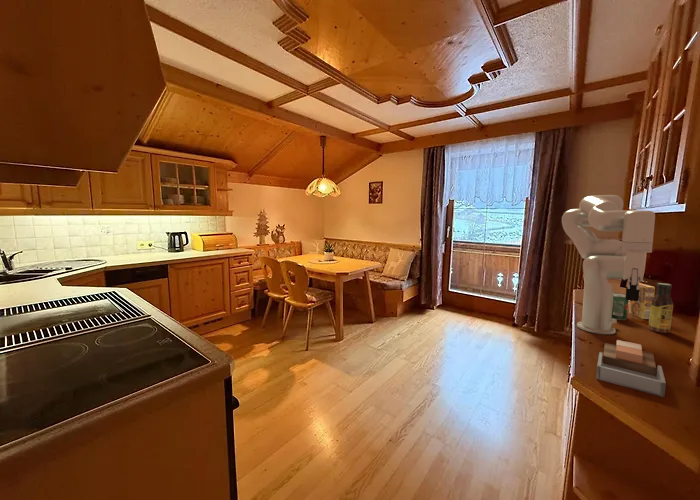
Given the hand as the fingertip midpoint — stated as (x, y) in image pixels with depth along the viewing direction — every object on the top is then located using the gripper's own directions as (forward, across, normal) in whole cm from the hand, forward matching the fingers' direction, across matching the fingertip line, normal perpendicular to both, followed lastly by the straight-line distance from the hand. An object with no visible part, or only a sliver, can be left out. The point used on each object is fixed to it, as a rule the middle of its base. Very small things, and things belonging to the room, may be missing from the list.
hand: (631, 299), depth 103 cm
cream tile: (+16, +8, 0) cm, 18 cm away
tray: (+19, +23, 0) cm, 30 cm away
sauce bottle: (+19, -34, +10) cm, 40 cm away
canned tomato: (+19, -44, -4) cm, 48 cm away
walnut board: (+19, +10, 0) cm, 22 cm away
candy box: (+19, -53, +5) cm, 57 cm away
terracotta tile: (+16, +14, 0) cm, 21 cm away
